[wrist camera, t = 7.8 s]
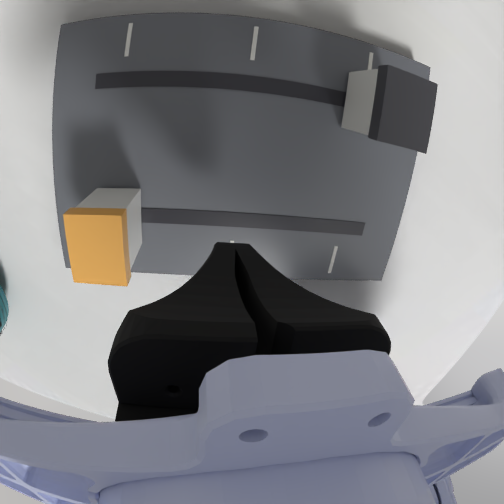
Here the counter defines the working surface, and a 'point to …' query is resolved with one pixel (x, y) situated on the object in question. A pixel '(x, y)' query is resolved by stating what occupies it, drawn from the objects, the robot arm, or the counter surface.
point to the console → (229, 141)
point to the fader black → (390, 106)
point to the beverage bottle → (3, 309)
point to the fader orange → (104, 236)
